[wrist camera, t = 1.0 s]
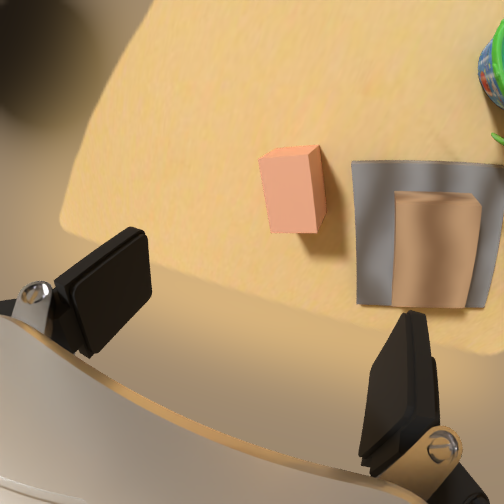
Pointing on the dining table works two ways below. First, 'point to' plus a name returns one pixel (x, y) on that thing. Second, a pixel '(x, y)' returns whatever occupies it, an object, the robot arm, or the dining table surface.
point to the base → (382, 218)
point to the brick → (294, 189)
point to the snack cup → (494, 71)
